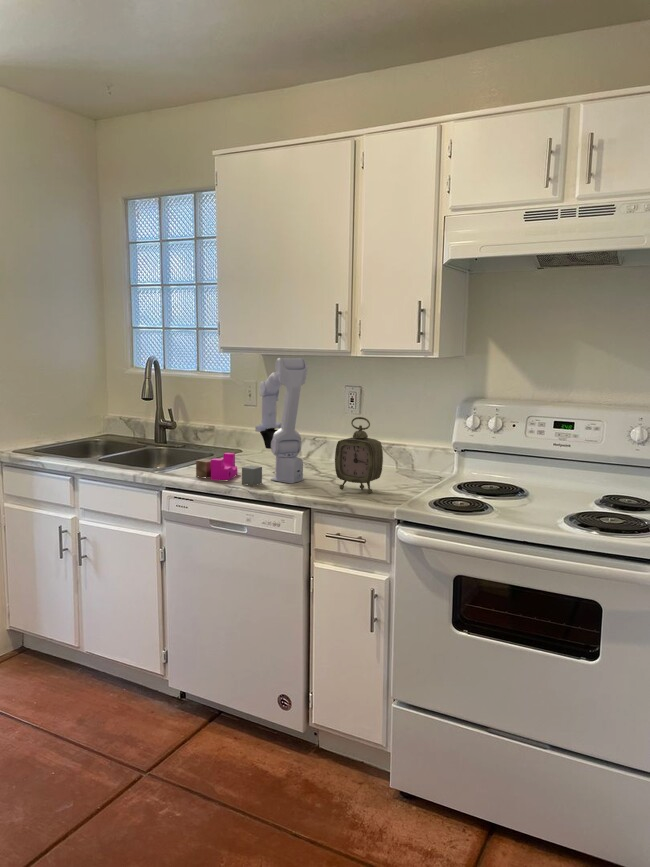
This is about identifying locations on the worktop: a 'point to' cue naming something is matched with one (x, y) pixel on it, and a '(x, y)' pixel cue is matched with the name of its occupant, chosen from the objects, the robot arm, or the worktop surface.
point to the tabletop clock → (359, 458)
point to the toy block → (223, 467)
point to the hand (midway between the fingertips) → (268, 448)
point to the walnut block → (203, 468)
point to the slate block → (251, 475)
